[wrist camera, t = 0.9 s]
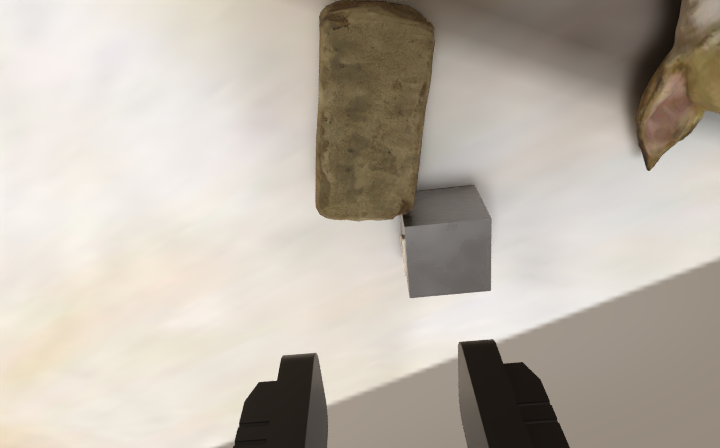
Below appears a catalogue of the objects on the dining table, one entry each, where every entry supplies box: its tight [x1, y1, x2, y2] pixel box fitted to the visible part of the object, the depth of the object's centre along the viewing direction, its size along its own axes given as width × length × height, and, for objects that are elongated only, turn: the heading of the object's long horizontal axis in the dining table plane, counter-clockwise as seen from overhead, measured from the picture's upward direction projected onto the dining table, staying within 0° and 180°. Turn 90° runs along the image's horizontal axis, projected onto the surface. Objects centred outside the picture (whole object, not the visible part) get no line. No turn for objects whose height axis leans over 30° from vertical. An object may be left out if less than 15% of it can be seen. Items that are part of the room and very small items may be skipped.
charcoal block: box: [400, 185, 491, 298], centre depth 34 cm, size 5×5×5 cm
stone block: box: [316, 0, 435, 221], centre depth 30 cm, size 6×12×5 cm, turn 177°
